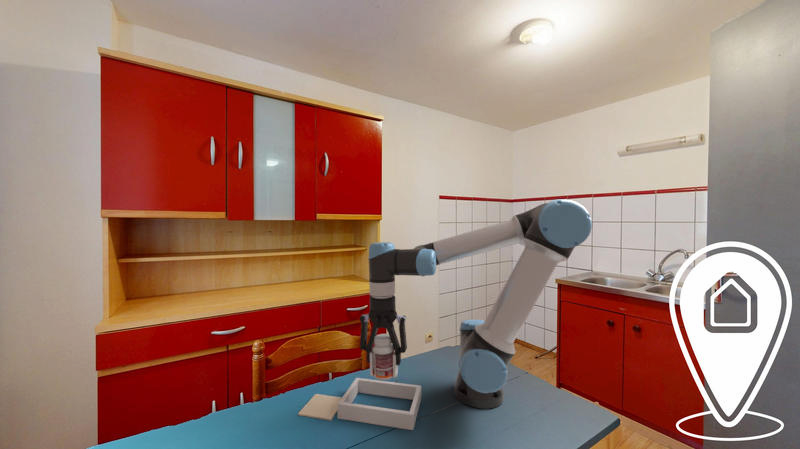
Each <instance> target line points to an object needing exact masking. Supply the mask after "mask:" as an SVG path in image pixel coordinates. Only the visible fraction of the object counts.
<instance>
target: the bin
mask: <svg viewBox="0 0 800 449" xmlns="http://www.w3.org/2000/svg"><path fill="white" fill-rule="evenodd" d="M359 393H361V394H367V395H375V396H379V397H380V396H382V397H389V398H396V399H403V400H404V399H405V400H412V402H411V406H410V409H409V411H408V410H402V409H395V408H387V407H382V406H381V407H380V406H374V405H368V404H367V405H366V404H361V403H360V404H359V403H353V402H354V400H355V398H357V396H358V394H359ZM341 398H342V399H341V400H340V401H339V403H338V411H337V419H338V420H339V419H340V420H345V421H353V422H359V423H365V424H371V425H377V426H383V427H388V428H389V427H390V428H396V429H402V430H407V431H409V430H410V431H414V428H415V425H416V421H417V417H418V414H419V413H418V412H419V408H420V404H421V400H422V385H418V384H410V383H401V382H394V381H387V380H378V379H370V378H364V377H363V378H361V377H356V378H355V379H354V380H353V382H352V383H351V385H350V386H349V387H348V389H347V390H346V391H345V393H344V394H343V396H342V397H341Z"/></svg>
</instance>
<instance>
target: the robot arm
mask: <svg viewBox="0 0 800 449" xmlns="http://www.w3.org/2000/svg"><path fill="white" fill-rule="evenodd" d="M592 226H593V222H592V218H591V216H590V213H589V211H588V210H587V209H586V208H585V207H584V206H583V205H582V204H580V203H579V202H577V201H574V200H570V199H561V198H559V199H553V200H550V201H549V202H545V203H542V204H539V205H537V206H535V207H533V208H530V209H529V210H527V211H524V212H521V213H518V214H514V215H512V217H511V219H509V220H506V221H503V222H499V223H496V224H492V225H488V226H485V227H481V228H478V229H475V230H471V231H468V232H464V233H460V234H457V235H454V236H449V237H446V238H443V239H440V240H436V241H433V242H429V243H426V244H420V245H417V246H415V247H414V248H408V249H406V248H405V249H403V248H401V249H400V248H399V249H398V248H395V244H394V243H393V242H387V241H386V242H385V241H384V242H381V241H380V242H372V243H370V245H368V246H369V247H368V273H369V274H368V278H369V280H368V281H369V282H368V284H369V286H368V287H369V288H368V290H369V294H368V295H369V312H368V313H367V314H365V313H363V314H362V315H360V317H359V321H360V325H361V326H360V341H359V342H360V344H359V346H360V347H359V349H360V350H361V351H365V352H366V363H368V364H369V374H370V375H369V376H370V377H374V371H373V347H374V345H375V344H374V337H375V336H376V335H378V334H377V333H378V330H379V329H382V328H383V329H386V331H387V334H389V336H390V339H391V342H392V345H393V348H394V354H393V378H392V379H397V376H398V374H399V372H398V370H399V366H400V365H401V363H402V354H405V353H406V351H407V349H408V344H407V331H406V321H407V316H406V315H400V314H398V313H397V311H396V310H397V309H396V296H395V294H396V276H413V277H414V276H420V277H427V276H429V277H430V276H434V275H435V274H436V272H437V270H436V269H437V266H440V265H444V264H445V263H446V264H447V263H450V262H454V261H457V260H461V259H464V258H465V259H466V258H469V257H472V256H473V257H474V256H477V255H481V254H484V253H487V252H488V253H489V252H492V251H496V250H499V249H502V248H507V247H511V246H513V245H514V246H515V245H517V244H519V245H520V246H523V247H524V249H523V251H522V253H521V255H520V256H519V258H518V259H517V262H516V264H515V265H514V267H513V269H512V271H511V272H510V275H509V277H507V278H508V279H507V280H506V282H505V284H504V286H503V288H502V289H501V291H500V293H499V295H498V296H497V298H496V301H494V304H493V305H492V307H491V309H490V312H489V313H488V315H487V317H486V318H485V320H483V319H466V320H463V321H461V323H460V327H459V332H460V333H459V335H460V336H459V339H460V341H459V343H460V344H459V362H458V363H459V364H458V368H459V369H458V373H457V375H456V378H455V381H454V383H453V384H454V385H453V388H454V395H455V397H456V399H458V401H460V402H462V403H463V404H464V405H466V406H469V407H471V408H475V409H476V408H477V409H482V410H483V409H486V410H487V409H493V408H494V409H495V408H498V407H499V406H501V405H502V404H503V402H504V401H505V400H504V399H505V398H504V397H505V392H504V388H503V387H504V386H505V384H506V383H507V379H508V374H509V373H508V366H509V365H510V362H511V361H512V360H513V357H514V355H515V353H516V352H517V351H516V349H515V348H516V347H515V344H514V342H515V340H516V339H517V336H519V333H520V331H521V330H522V328H523V326H524V324H525V322H526V321H527V319H528V318H529V315H531V314H530V313H531V312H532V310H533V308H534V306H535V305H536V303H537V301H538V299H539V297H540V296H541V295H542V292H543V290H544V289H545V287H546V285H547V283H548V282H549V280H550V278H551V276H552V274H553V272H554V271H555V269H556V268H557V265H558V264H559V263H561V262H565V261H568V259H569V258H570V256H571V255H572V253H573V251H574V249H575V247H579V246H580V245H582V243H584V242H585V241H586V240H587V239H588V238H589V236H590V234H591V232H592ZM395 320H396V321H397V324H398V331H399V337H398V336H397V333H396V330H395V324H394V322H395ZM369 321H371V323H372V328H371V332H370V336H369V339H368V327H369V325H368V324H369ZM398 338H399V339H400V340H399V339H398ZM399 341H400V342H399Z"/></svg>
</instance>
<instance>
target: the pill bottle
mask: <svg viewBox="0 0 800 449" xmlns="http://www.w3.org/2000/svg"><path fill="white" fill-rule="evenodd" d="M372 350H373V371H374V375H373V377H374V378H375V380H379V381H387V380H391V379H394V378H393V354H394V352H395V351H394V348H393V345H392V342H391V339H390V336H389V333H380V334H376V336H375V337H374V344H373V348H372Z"/></svg>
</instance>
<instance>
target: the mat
mask: <svg viewBox="0 0 800 449" xmlns="http://www.w3.org/2000/svg"><path fill="white" fill-rule="evenodd" d="M341 399H342V397H340V396H334V395H327V394H318V393H315V394H314V395H313V396H312V397H311V399H309V401H308V402H307V403H306V404H305V405H304V406H303V407H302V408H301V410H300V411H299V412H298V413H297V415H298V416H301V417H307V418H308V417H309V418H313V419H314V418H315V419H319V420H326V421H332V420H333V418H334V417H335V415H336V413H338V403H339V401H340V400H341Z"/></svg>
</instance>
